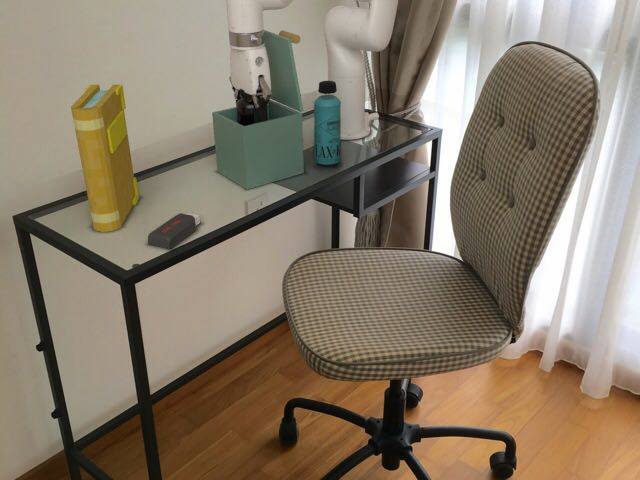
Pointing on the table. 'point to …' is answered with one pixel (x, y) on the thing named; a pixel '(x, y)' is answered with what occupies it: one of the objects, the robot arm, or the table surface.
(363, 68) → the robot arm
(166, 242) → the usb drive
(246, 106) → the supplement bottle
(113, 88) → the book
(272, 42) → the bin lid
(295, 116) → the bin
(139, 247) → the table surface
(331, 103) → the beverage bottle
